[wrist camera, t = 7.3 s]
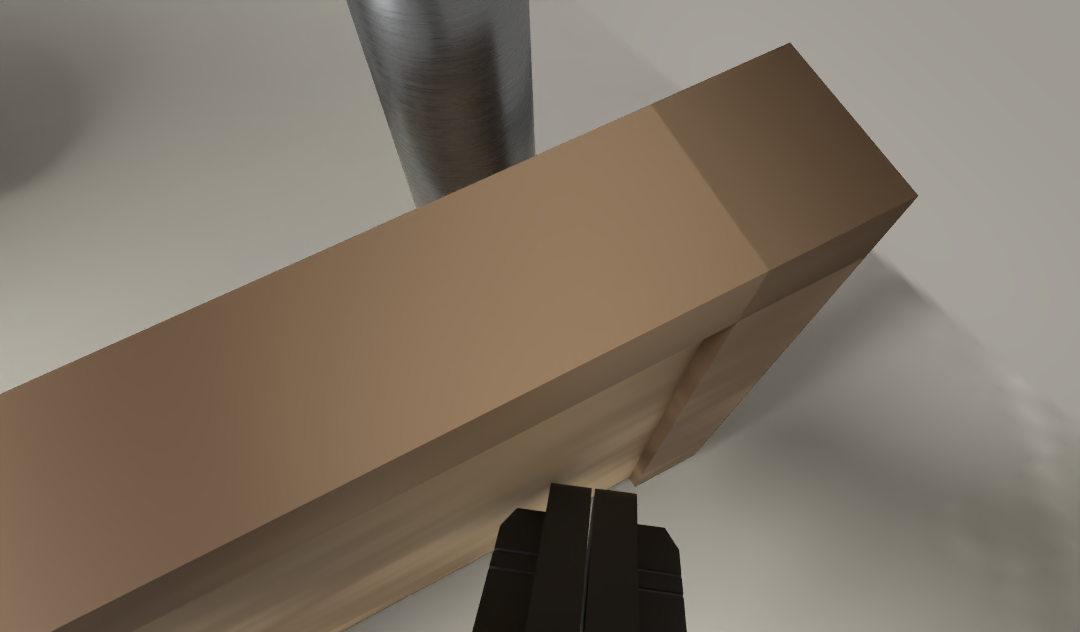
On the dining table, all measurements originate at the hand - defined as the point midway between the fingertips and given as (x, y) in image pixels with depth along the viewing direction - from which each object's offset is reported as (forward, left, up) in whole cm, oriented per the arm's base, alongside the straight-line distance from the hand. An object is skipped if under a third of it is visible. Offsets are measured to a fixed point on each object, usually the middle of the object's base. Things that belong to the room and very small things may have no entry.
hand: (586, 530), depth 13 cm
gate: (-4, -1, -4) cm, 6 cm away
